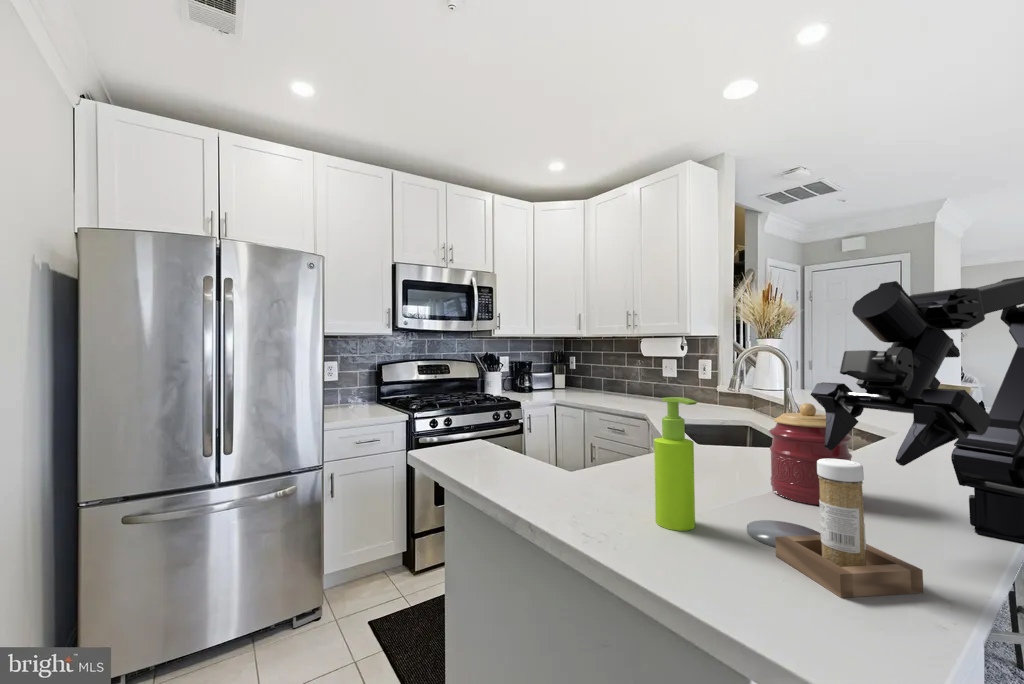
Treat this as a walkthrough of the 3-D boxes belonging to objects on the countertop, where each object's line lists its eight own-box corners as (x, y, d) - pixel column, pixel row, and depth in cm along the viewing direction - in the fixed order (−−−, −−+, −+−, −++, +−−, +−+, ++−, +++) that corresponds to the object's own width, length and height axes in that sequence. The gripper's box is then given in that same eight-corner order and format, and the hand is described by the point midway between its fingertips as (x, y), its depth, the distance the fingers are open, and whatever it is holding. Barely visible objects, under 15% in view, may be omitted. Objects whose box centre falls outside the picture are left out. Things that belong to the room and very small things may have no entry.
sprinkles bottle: (873, 575, 52) (869, 462, 52) (859, 586, 49) (854, 467, 50) (829, 560, 55) (825, 455, 56) (813, 570, 53) (810, 460, 53)
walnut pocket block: (845, 552, 58) (844, 533, 58) (923, 592, 48) (922, 569, 48) (775, 556, 57) (775, 536, 57) (840, 597, 47) (840, 574, 47)
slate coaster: (835, 537, 63) (835, 533, 63) (817, 559, 56) (817, 554, 56) (759, 519, 70) (759, 515, 70) (736, 536, 63) (736, 532, 63)
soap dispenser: (682, 536, 63) (679, 399, 64) (647, 520, 69) (645, 396, 70) (709, 528, 66) (706, 398, 67) (673, 514, 72) (671, 395, 73)
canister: (773, 482, 91) (771, 399, 92) (851, 493, 83) (848, 402, 84) (767, 498, 80) (764, 404, 81) (856, 513, 73) (852, 408, 74)
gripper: (812, 331, 68) (763, 411, 65) (960, 321, 50) (902, 431, 47) (856, 374, 70) (811, 454, 67) (1015, 380, 52) (962, 489, 49)
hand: (860, 455), depth 57 cm, fingers open, 9 cm apart
